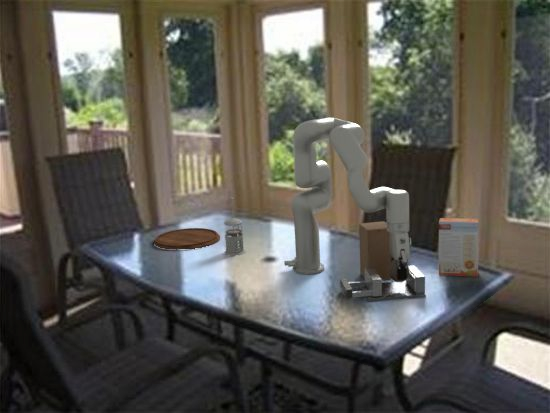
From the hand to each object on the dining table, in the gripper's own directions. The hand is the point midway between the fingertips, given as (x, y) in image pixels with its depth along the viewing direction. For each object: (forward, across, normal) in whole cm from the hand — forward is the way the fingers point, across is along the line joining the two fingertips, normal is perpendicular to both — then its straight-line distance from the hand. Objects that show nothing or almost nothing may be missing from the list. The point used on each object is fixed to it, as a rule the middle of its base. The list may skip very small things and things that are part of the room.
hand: (398, 275), depth 212 cm
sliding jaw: (+5, 0, +14) cm, 14 cm away
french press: (+6, +62, +56) cm, 84 cm away
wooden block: (+6, +17, +4) cm, 19 cm away
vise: (+6, 0, +3) cm, 7 cm away
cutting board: (+6, +86, +79) cm, 117 cm away
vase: (+2, 0, 0) cm, 2 cm away
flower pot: (+6, +31, -9) cm, 33 cm away
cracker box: (+6, +13, -26) cm, 30 cm away
